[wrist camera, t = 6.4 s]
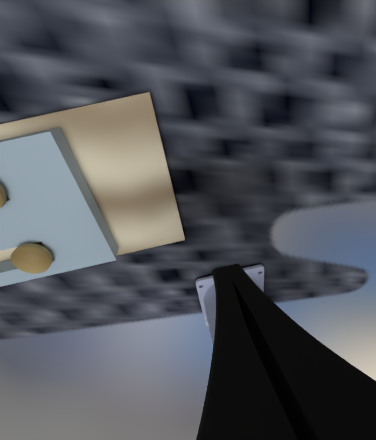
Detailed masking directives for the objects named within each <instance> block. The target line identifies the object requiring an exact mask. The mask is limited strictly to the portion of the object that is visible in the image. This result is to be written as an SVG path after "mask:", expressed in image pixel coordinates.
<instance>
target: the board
mask: <svg viewBox="0 0 376 440" xmlns="http://www.w3.org/2000/svg"><path fill="white" fill-rule="evenodd" d="M57 127H60V129H61V131H62V133H63V135H64V137H65V139H66V141H67V143H68V145H69V147H70V149H71V151H72V153H73V155H74V158H75V160H76V162H77V164H78V166H79V168H80V170H81V172H82V174H83V176H84V178H85V180H86V182H87V184H88V186H89V189H90V191H91V193H92V195H93V197H94V199H95V201H96V203H97V205H98V207H99V209H100V211H101V213H102V215H103V217H104V220H105V222H106V224H107V226H108V228H109V230H110V232H111V234H112V236H113V238H114V240H115V242H116V244H117V246H118V248H119V249H118V254H117V255H121V254H125V253H130V252H134V251H138V250H143V249H147V248H152V247H156V246H160V245H165V244H169V243H173V242H178V241H182V240H185V237H184V233H183V228H182V224H181V220H180V216H179V212H178V208H177V203H176V199H175V195H174V191H173V187H172V183H171V178H170V174H169V170H168V166H167V162H166V158H165V153H164V149H163V145H162V141H161V137H160V133H159V129H158V124H157V120H156V116H155V112H154V108H153V104H152V99H151V95H150V92H146V93H141V94H137V95H132V96H127V97H123V98H118V99H114V100H109V101H104V102H100V103H95V104H90V105H86V106H81V107H77V108H72V109H67V110H63V111H58V112H54V113H49V114H44V115H40V116H35V117H31V118H26V119H21V120H17V121H12V122H7V123H3V124H0V140H2V139H7V138H11V137H16V136H21V135H25V134H30V133H34V132H39V131H43V130H48V129H53V128H57ZM6 199H7V197H6V193H5V190H4V189H3V187H2V186H1V185H0V208H1V207H2V206H4V204H5V203H6ZM8 260H11V262H12V264H13V265H14V266H15V267H16V268H18V269H19V270H21V271H24V272H27V273H33V274H37V273H42V272H45V271H47V270H48V269H49V267H50V265H51V264H52V262H53V256H52V254H51V253H50V251H49V250H47V249H46V248H45V246H44V245H43V243H42V242H37V243H26V244H22V245H19V246H18V247H15V248H10V249H6V250H1V251H0V262H3V261H8Z"/></svg>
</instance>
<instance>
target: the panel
mask: <svg viewBox="0 0 376 440" xmlns="http://www.w3.org/2000/svg"><path fill="white" fill-rule="evenodd" d="M0 185H1V186H2V187H3V189H4V190H5V193H6V197H7V199H6V203H5V204H4V206H2V207H1V208H0V251H1V250H6V249H10V248H15V247H18V246H19V245H22V244H26V243H37V242H42V243H43V245H44V246H45V248H46V249H47V250H49V251H50V253H51V254H52V256H53V262H52V264H51V265H50V267H49V269H48V270H47V271H45V272H42V273H37V274H33V273H27V272H24V271H21V270H19V269H18V268H16V267H15V266H14V265H13V264H12V262H11V260H8V261H3V262H0V287H1V286H5V285H10V284H14V283H18V282H23V281H27V280H31V279H36V278H40V277H45V276H49V275H53V274H58V273H62V272H66V271H71V270H75V269H80V268H84V267H88V266H93V265H97V264H101V263H106V262H110V261H115V260H116V258H117V254H118V249H119V248H118V246H117V244H116V242H115V240H114V238H113V236H112V234H111V232H110V230H109V228H108V226H107V224H106V222H105V220H104V217H103V215H102V213H101V211H100V209H99V207H98V205H97V203H96V201H95V199H94V197H93V195H92V193H91V191H90V189H89V186H88V184H87V182H86V180H85V178H84V176H83V174H82V172H81V170H80V168H79V166H78V164H77V162H76V160H75V158H74V155H73V153H72V151H71V149H70V147H69V145H68V143H67V141H66V139H65V137H64V135H63V133H62V131H61V129H60V127H57V128H53V129H48V130H43V131H39V132H34V133H30V134H25V135H21V136H16V137H11V138H7V139H2V140H0Z"/></svg>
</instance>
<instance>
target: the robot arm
mask: <svg viewBox="0 0 376 440" xmlns="http://www.w3.org/2000/svg"><path fill="white" fill-rule="evenodd" d="M212 274H213V275H212V276H208V277H203V278H199V279H197V280H196V281H195V283H196V287H197V291H198V295H199V300H200V304H201V308H202V312H203V316H204V320H205V324H206V326H209V328H210V333H211V337H212V342H213V354H212V361H211V369H210V375H209V381H208V386H207V392H206V397H205V402H204V407H203V413H202V417H201V422H200V426H199V430H198V435H197V439H196V440H376V381H375V380H373V379H372V378H370V377H369V376H367V375H366V374H365V373H363V372H362V371H360V370H359V369H357V368H356V367H354V366H353V365H351V364H350V363H348V362H347V361H346V360H344V359H343V358H341V357H340V356H338V355H337V354H336V353H334V352H333V351H332V350H330V349H329V348H327V347H326V346H325V345H323V344H322V343H321V342H319V341H318V340H316V339H315V338H314V337H313V336H312V335H310V334H309V333H308V332H307V331H305V330H304V329H303V328H302V327H301V326H299V325H298V324H297V323H296V322H295V321H293V320H292V319H291V318H290V317H289V316H288V315H287V314H285V313H284V312H283V311H282V310H281V309H280V308H279V307H278V306H277V305H276V304H275V303H274V302H273V301H272V300H271V299H270V298H269V297H268V296H267V295H266V294H265V293H264V292H263V291H264V267H263V265H255V266H251V267H247V268H242V267H241V266H240V265H239V264H234V265H230V266H226V267H221V268H217V269H214V270H213V271H212Z"/></svg>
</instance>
